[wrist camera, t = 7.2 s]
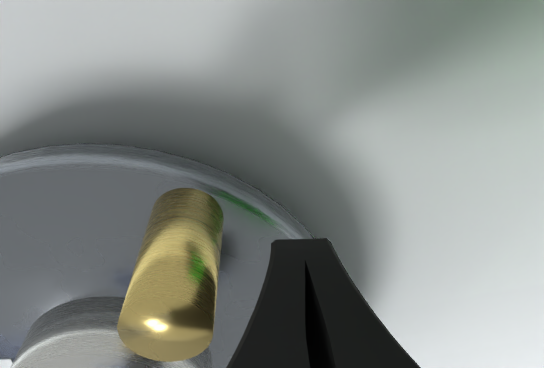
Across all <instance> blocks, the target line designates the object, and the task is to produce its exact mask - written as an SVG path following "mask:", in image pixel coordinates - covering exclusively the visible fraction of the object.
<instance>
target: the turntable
mask: <svg viewBox="0 0 544 368" xmlns="http://www.w3.org/2000/svg"><path fill="white" fill-rule="evenodd" d="M278 239H314V238H313V237H312V236H311V235H310V234H309V232H308V231H307V230H306V229H305V227H304V226H303V225H302V224H301V223H300V222H298V221H297V220H296V219H295V218H294V217H293V216H292V215H291V214H290V213H289V212H288V211H286V210H285V209H284V208H283V207H282V206H281V205H279V204H278V203H276V202H275V201H274V200H272V199H271V198H269V197H268V196H266V195H265V194H263V193H262V192H261V191H259V190H258V189H256V188H254V187H253V186H251V185H249V184H247V183H245V182H243V181H241V180H239V179H237V178H236V177H234V176H232V175H230V174H228V173H226V172H223V171H221V170H218V169H216V168H213V167H211V166H208V165H205V164H203V163H200V162H198V161H195V160H192V159H188V158H185V157H181V156H177V155H173V154H169V153H166V152H162V151H158V150H152V149H145V148H138V147H132V146H125V145H112V144H86V143H83V144H70V145H57V146H46V147H41V148H36V149H31V150H26V151H21V152H16V153H12V154H9V155H6V156H3V157H1V158H0V368H10V367H11V365H12V363H13V361H14V359H15V357H16V355H17V353H18V351H19V349H20V347H21V345H22V343H23V341H24V339H25V337H26V335H27V333H28V331H29V329H30V328H31V326H32V325H33V323H34V322H35V321H36V320H37V319H38V318H39V317H40V316H42V315H43V314H44V313H46V312H47V311H49V310H51V309H53V308H54V307H56V306H59V305H61V304H64V303H67V302H70V301H74V300H78V299H83V298H90V297H106V296H107V297H123V298H125V300H124V303H123V307H122V310H121V313H120V316H119V320H118V324H117V330H118V334H119V337H120V338H121V340H122V342H123V343H124V344H125V345H126V346H127V347H128V348H129V349H130V350H132V351H133V352H135V353H136V354H138V355H140V356H143V357H145V358H148V359H152V360H157V361H164V362H174V361H182V360H186V359H190V358H192V357H195V356H197V355H199V354H200V353H202V352H203V351H204V350H205V349H206V348H207V347H208V346H209V349H210V351H211V354H212V361H213V365H212V368H226V367H227V365H228V364H229V362H230V360H231V358H232V356H233V354H234V352H235V350H236V348H237V346H238V344H239V342H240V340H241V338H242V336H243V334H244V332H245V329H246V327H247V325H248V322H249V320H250V318H251V315H252V313H253V311H254V308H255V306H256V303H257V300H258V297H259V295H260V292H261V289H262V286H263V283H264V280H265V276H266V272H267V269H268V265H269V260H270V253H271V243H272V242H273V241H275V240H278Z"/></svg>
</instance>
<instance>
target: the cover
mask: <svg viewBox="0 0 544 368" xmlns="http://www.w3.org/2000/svg"><path fill="white" fill-rule="evenodd" d="M124 300H125V298H123V297H107V296H106V297H90V298H83V299H78V300H74V301H70V302H67V303H64V304H61V305H59V306H56V307H54V308H53V309H51V310H49V311H47V312H46V313H44V314H43V315H42V316H40V317H39V318H38V319H37V320H36V321H35V322H34V323H33V325H32V326H31V328H30V329H29V331H28V333H27V335H26V337H25V339H24V341H23V343H22V345H21V347H20V349H19V351H18V353H17V355H16V357H15V359H14V361H13V363H12V365H11V367H10V368H212V365H213V361H212V354H211V351H210V349H209V346H208V347H207V348H206V349H205V350H204V351H203V352H202V353H200V354H199V355H197V356H195V357H192V358H190V359H186V360H182V361H174V362H164V361H157V360H152V359H148V358H145V357H143V356H140V355H138V354H136V353H135V352H133V351H132V350H130V349H129V348H128V347H127V346H126V345H125V344H124V343H123V342H122V340H121V338H120V337H119V334H118V330H117V324H118V320H119V316H120V313H121V310H122V307H123V303H124Z"/></svg>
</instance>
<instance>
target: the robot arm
mask: <svg viewBox="0 0 544 368" xmlns="http://www.w3.org/2000/svg"><path fill="white" fill-rule="evenodd" d="M226 368H420V367H419V365H418V364H417V363H416V362H415V361H414V360H413V359H412V358H411V357H410V356H409V355H408V353H407V352H406V351H405V350H404V349H403V348H402V347H401V345H400V344H399V343H398V342H397V341H396V340H395V338H394V337H393V336H392V335H391V334H390V332H389V331H388V330H387V328H386V327H385V326H384V325H383V323H382V322H381V321H380V320H379V318H378V317H377V316H376V314H375V313H374V312H373V310H372V309H371V308H370V306H369V305H368V303H367V302H366V300H365V299H364V298H363V296H362V295H361V293H360V292H359V290H358V289H357V287H356V286H355V284H354V283H353V281H352V280H351V278H350V277H349V275H348V273H347V272H346V270H345V268H344V267H343V265H342V263H341V261H340V260H339V258H338V256H337V254H336V252H335V250H334V248H333V246H332V244H331V242H330V241H329V240H328V239H326V238H323V239H278V240H275V241H273V242H272V243H271V253H270V260H269V265H268V269H267V272H266V276H265V280H264V283H263V286H262V289H261V292H260V295H259V297H258V300H257V303H256V306H255V308H254V311H253V313H252V315H251V318H250V320H249V322H248V325H247V327H246V329H245V332H244V334H243V336H242V338H241V340H240V342H239V344H238V346H237V348H236V350H235V352H234V354H233V356H232V358H231V360H230V362H229V364H228V365H227V367H226Z"/></svg>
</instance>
